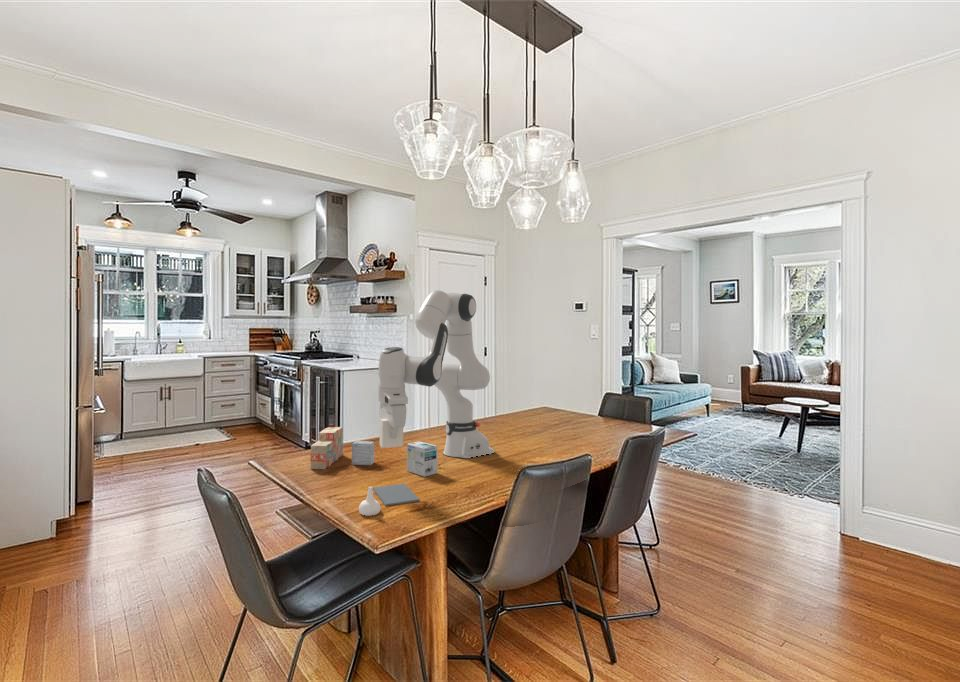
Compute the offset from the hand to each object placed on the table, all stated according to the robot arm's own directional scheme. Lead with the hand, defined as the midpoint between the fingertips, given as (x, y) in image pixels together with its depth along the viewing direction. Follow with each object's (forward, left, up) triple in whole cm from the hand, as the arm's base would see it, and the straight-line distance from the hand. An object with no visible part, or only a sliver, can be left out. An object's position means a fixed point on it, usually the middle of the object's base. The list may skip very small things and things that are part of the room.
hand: (391, 436), depth 166 cm
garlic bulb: (+11, +17, -18) cm, 28 cm away
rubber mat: (0, +5, -18) cm, 19 cm away
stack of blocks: (+15, -44, -19) cm, 50 cm away
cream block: (0, 0, -3) cm, 3 cm away
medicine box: (+2, -35, -18) cm, 40 cm away
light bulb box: (-16, -15, -18) cm, 29 cm away
